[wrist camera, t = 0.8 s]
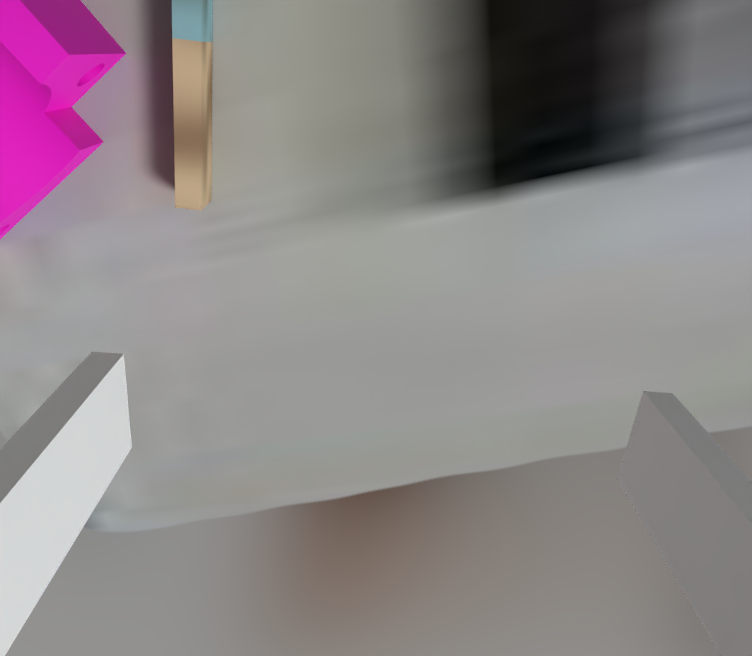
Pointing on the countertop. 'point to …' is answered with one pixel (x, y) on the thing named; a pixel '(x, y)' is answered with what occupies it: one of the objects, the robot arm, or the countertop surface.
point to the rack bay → (192, 101)
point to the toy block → (45, 97)
